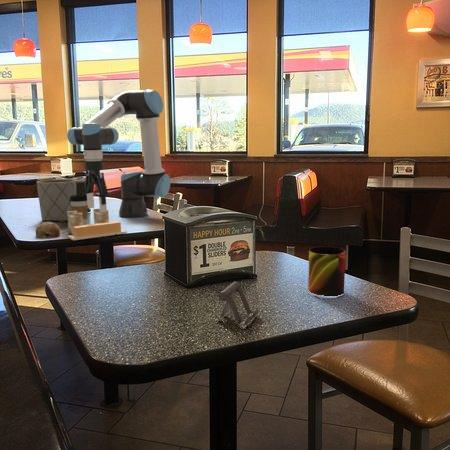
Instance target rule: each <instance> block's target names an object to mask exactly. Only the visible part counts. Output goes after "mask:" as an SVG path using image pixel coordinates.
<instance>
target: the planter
mask: <svg viewBox="0 0 450 450" xmlns="http://www.w3.org/2000/svg"><path fill="white" fill-rule="evenodd" d="M36 189H37V194H38V195H37V197H38V201H39V202H38V203H39V208H40V216H41V220H42V222H45V221H58V222H60V223H64V222H66V221H68V214H67V212H69V211H72V209H71V201H70V196H72V195H77V180H76V179H69V178H60V179H59V178H57V179H44V180H43V179H42V180H37V181H36Z"/></svg>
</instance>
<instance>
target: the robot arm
mask: <svg viewBox="0 0 450 450" xmlns="http://www.w3.org/2000/svg"><path fill="white" fill-rule="evenodd" d="M163 110H164V101H163V98H162V96H161V94H160V93H159V92H158V91H157V90H155V89H138V90H136V89H135V90H127V91H123V92H120V94H117V95H115V96H114V97H113V98H111V99H110V100H109V101H108V102H107V103H106V106H105V107H103V108H101V109H100V110H99V111H98V112H97V113H95V114H94V115H92V117H90V118H89V119H88V120H86V121H85V122H84V123H82V124H81V125H79V126H78V127H75V126H74V127H70V128H69V129H68V130H67V132H66V135H67V136H66V137H67V138H66V139H67V140H68V141H67V142H69V143H70V144H71V145H74V146H83V153H82V155H83V158H84V169H85V181H84V192H85V193H86V194H87V205H88V209H95V198H94V187H95V186H96V189H97V192H98V196H97V197H98V203H99V208H100V212H107V210H108V207H107V197H108V195H109V191H108V188H107V184H106V180H105V173H104V172H101V171H102V170H104V161H103V157H104V156H103V148H102V147H103V146H107V145H108V146H109V145H110V146H111V145H114V144H116V143H117V142H118V140H119V136H120V135H119V133H118V130H117V129H116V128H115V127H110V126H109V125H111V124H112V123H113V122H114V121H116V120H117V119H120V118H122V117H124V116H129V115H135V118H136V120H137V121H139V126H140V128H139V129H140V137H141V146H142V155H143V163H144V164H143V165H144V169H143V170H140V171H133V172H132V171H131V172H126V173H125V172H124V173H122V174H121V175H120V190H121V192H120V193H121V203H120V208H119V209H118V216H119V217H123V218H139V217H140V218H141V217H146V216H148V213H149V211H148V208H147V206H146V203H145V198H144V197H150V198H151V197H155V198H158V197H159V198H162V197H165V196H167V194H168V193H169V191H170V188H171V177H170V176H169V174H166V170H165V169H164V168H163V167H162V159H161V158H162V157H161V149H160V148H161V147H160V139H159V137H160V136H159V131H158V130H159V129H158V119H159V118H160V114H161V113H163Z"/></svg>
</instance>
